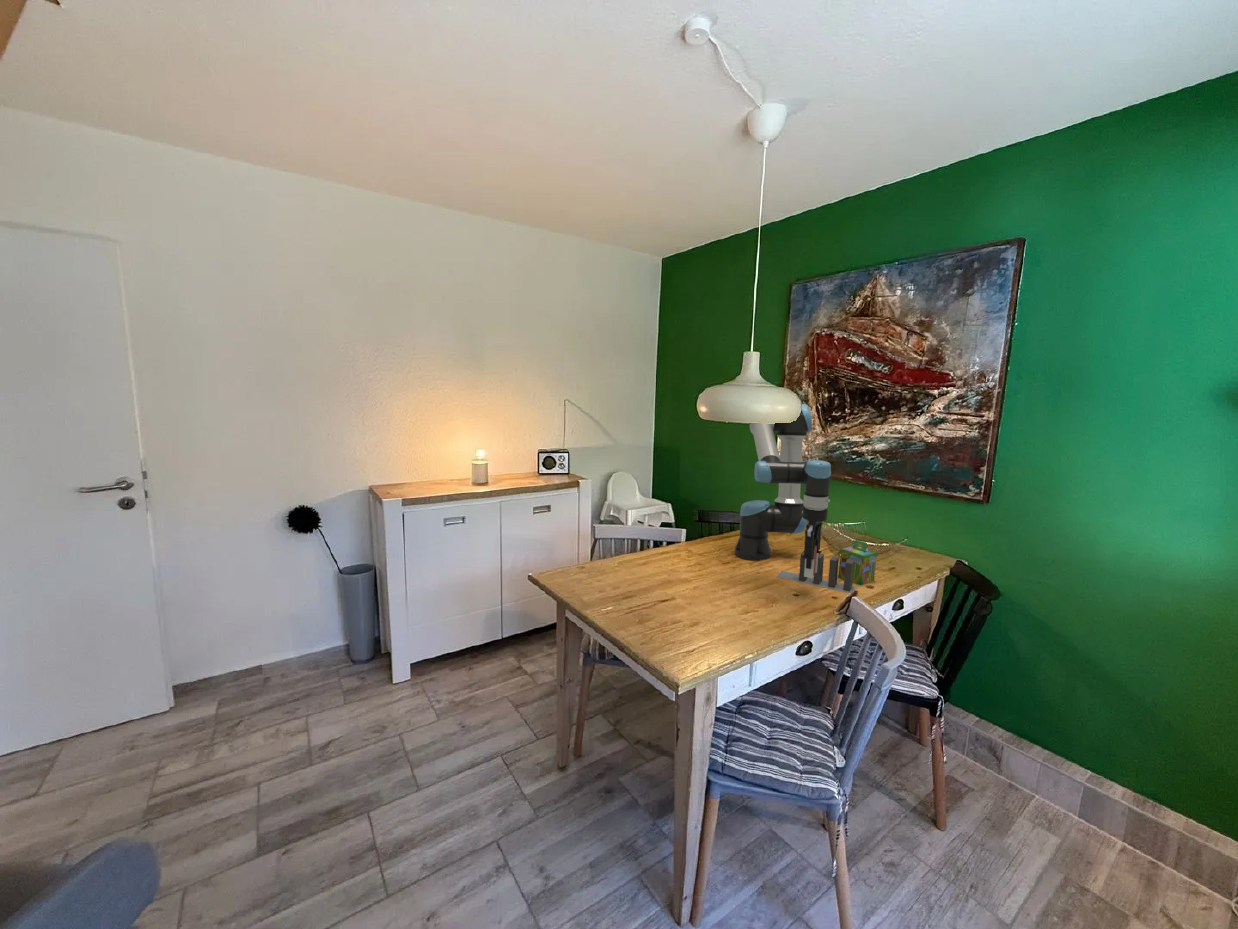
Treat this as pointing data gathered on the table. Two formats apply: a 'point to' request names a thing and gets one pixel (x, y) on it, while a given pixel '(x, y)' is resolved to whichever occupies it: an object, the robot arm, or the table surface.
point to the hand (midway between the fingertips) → (810, 574)
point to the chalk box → (859, 563)
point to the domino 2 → (815, 559)
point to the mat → (810, 581)
